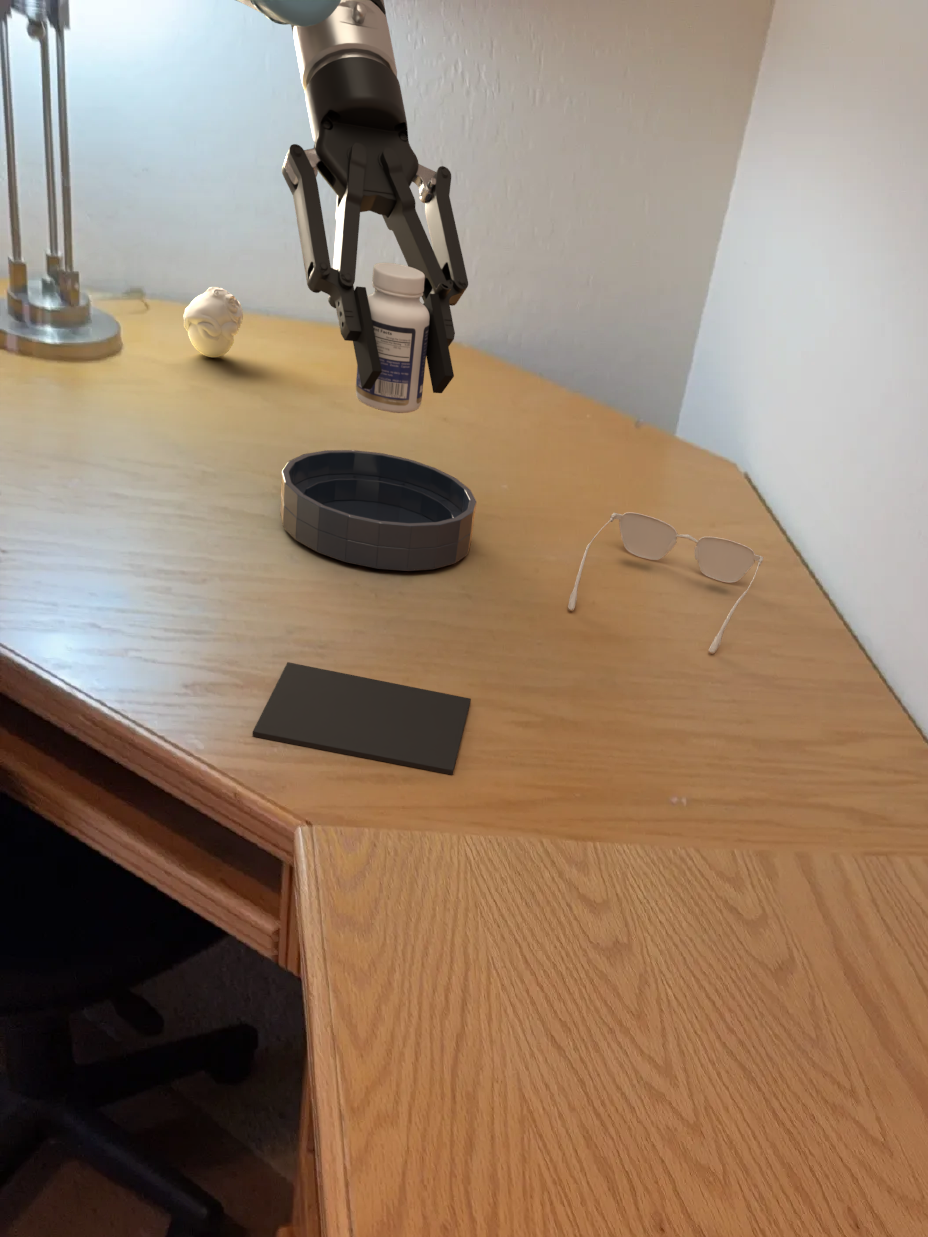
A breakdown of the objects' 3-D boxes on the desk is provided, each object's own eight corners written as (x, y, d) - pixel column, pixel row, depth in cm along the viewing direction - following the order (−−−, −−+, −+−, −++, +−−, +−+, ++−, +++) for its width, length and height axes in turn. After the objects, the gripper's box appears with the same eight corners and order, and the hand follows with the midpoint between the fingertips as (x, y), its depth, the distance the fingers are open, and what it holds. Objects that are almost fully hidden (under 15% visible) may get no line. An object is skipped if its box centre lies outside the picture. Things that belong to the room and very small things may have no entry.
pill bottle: (385, 388, 108) (396, 258, 102) (433, 410, 107) (448, 278, 100) (340, 395, 105) (350, 260, 98) (390, 418, 103) (403, 282, 96)
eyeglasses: (754, 590, 126) (766, 550, 124) (722, 659, 113) (734, 616, 110) (606, 546, 127) (615, 505, 125) (557, 609, 114) (565, 565, 111)
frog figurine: (254, 362, 149) (255, 295, 144) (205, 367, 144) (205, 298, 139) (219, 345, 151) (219, 279, 146) (170, 349, 146) (169, 281, 142)
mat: (252, 736, 88) (252, 731, 88) (287, 666, 97) (287, 661, 96) (452, 775, 90) (453, 770, 90) (470, 703, 98) (471, 698, 98)
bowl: (261, 550, 111) (262, 498, 108) (303, 484, 124) (305, 436, 121) (457, 591, 113) (463, 541, 110) (478, 522, 126) (484, 475, 123)
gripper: (246, 29, 93) (308, 349, 94) (476, 72, 102) (531, 365, 102) (224, 101, 100) (282, 400, 101) (442, 136, 108) (493, 411, 109)
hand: (408, 381), depth 101 cm, fingers closed on pill bottle, 5 cm apart
